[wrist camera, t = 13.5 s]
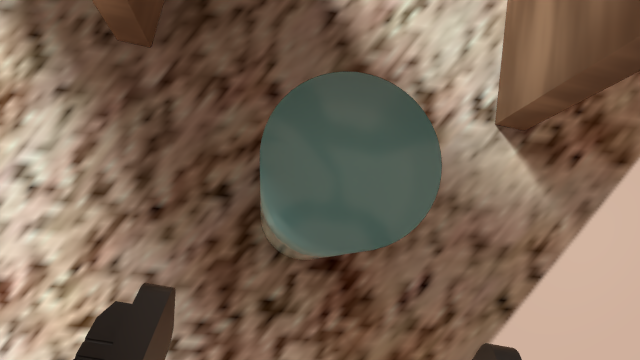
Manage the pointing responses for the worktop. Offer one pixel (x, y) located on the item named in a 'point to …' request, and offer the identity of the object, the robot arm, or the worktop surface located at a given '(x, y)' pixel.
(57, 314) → the worktop surface
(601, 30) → the walnut shelf
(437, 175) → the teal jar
